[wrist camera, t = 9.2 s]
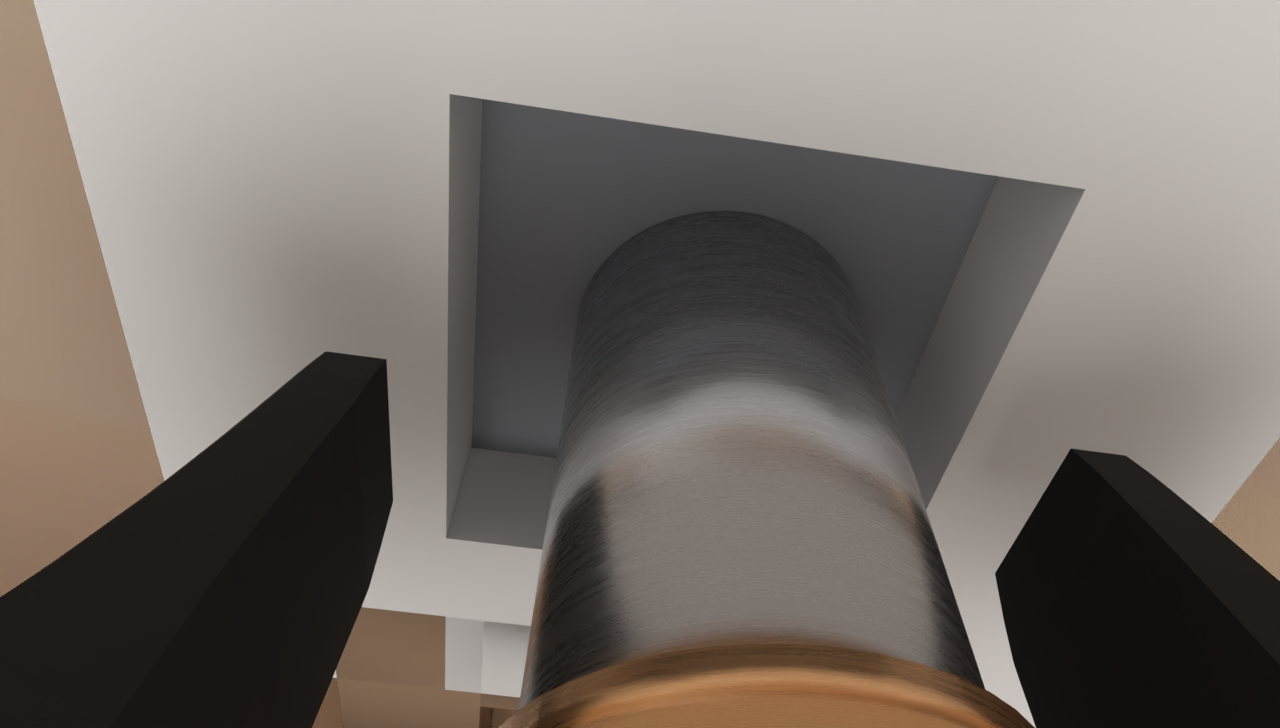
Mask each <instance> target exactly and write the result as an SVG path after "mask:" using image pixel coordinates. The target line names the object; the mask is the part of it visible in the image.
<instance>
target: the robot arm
mask: <svg viewBox="0 0 1280 728" xmlns="http://www.w3.org/2000/svg"><path fill="white" fill-rule="evenodd" d="M392 503H393V488H392V466H391V445H390V423H389V402H388V380H387V359H381V358H373V357H365V356H358V355H350V354H342V353H335V352H327V351H326V352H324V353H323V354H321V355H320V356H319V357H317V358H316V359H315V360H313V361H312V362H311V363H310V364H308V365H307V366H306V367H305V368H303V369H302V370H301V371H300V372H298V373H297V374H296V375H295V376H294V377H292V378H291V379H290V380H289V381H288V382H286V383H285V384H284V385H283V386H282V387H280V388H279V389H278V390H277V391H276V392H274V393H273V394H272V395H271V396H270V397H268V398H267V399H266V400H265V401H264V402H262V403H261V404H260V405H259V406H258V407H256V408H255V409H254V410H253V411H252V412H250V413H249V414H248V415H247V416H246V417H244V418H243V419H242V420H241V421H239V422H238V423H237V424H236V425H235V426H233V427H232V428H231V429H230V430H228V431H227V432H226V433H225V434H224V435H222V436H221V437H220V438H219V439H217V440H216V441H215V442H214V443H212V444H211V445H210V446H208V447H207V448H206V449H205V450H203V451H202V452H201V453H200V454H198V455H197V456H196V457H194V458H193V459H192V460H191V461H189V462H188V463H187V464H185V465H184V466H183V467H182V468H180V469H179V470H178V471H177V472H175V473H174V474H173V475H171V476H170V477H169V478H168V479H166V480H165V481H164V482H163V483H161V484H160V485H159V486H157V487H156V488H155V489H153V490H152V491H151V492H150V493H148V494H147V495H146V496H144V497H143V498H142V499H140V500H139V501H138V502H136V503H135V504H133V505H132V506H131V507H129V508H128V509H126V510H125V511H124V512H122V513H121V514H119V515H118V516H117V517H115V518H114V519H112V520H111V521H110V522H108V523H107V524H106V525H104V526H103V527H101V528H100V529H99V530H97V531H96V532H94V533H93V534H92V535H90V536H89V537H87V538H86V539H85V540H83V541H82V542H80V543H79V544H78V545H76V546H75V547H73V548H72V549H71V550H69V551H68V552H66V553H65V554H64V555H62V556H61V557H59V558H58V559H57V560H55V561H54V562H52V563H51V564H49V565H48V566H46V567H45V568H44V569H42V570H41V571H39V572H38V573H36V574H35V575H33V576H32V577H30V578H29V579H27V580H26V581H24V582H23V583H21V584H20V585H18V586H17V587H15V588H14V589H12V590H11V591H9V592H8V593H6V594H5V595H3V596H2V597H0V728H312V726H313V723H314V721H315V718H316V716H317V714H318V711H319V709H320V706H321V704H322V702H323V699H324V697H325V694H326V692H327V690H328V687H329V685H330V682H331V680H332V677H333V675H334V673H335V670H336V668H337V665H338V663H339V661H340V658H341V656H342V653H343V651H344V648H345V646H346V643H347V641H348V639H349V636H350V634H351V631H352V629H353V626H354V624H355V621H356V619H357V617H358V614H359V612H360V609H361V607H362V604H363V602H364V599H365V597H366V594H367V592H368V589H369V586H370V582H371V579H372V575H373V572H374V569H375V565H376V562H377V558H378V555H379V551H380V548H381V544H382V540H383V537H384V533H385V529H386V526H387V522H388V518H389V514H390V511H391V507H392ZM995 577H996V582H997V587H998V592H999V598H1000V603H1001V608H1002V614H1003V619H1004V624H1005V628H1006V632H1007V637H1008V641H1009V645H1010V650H1011V654H1012V658H1013V663H1014V666H1015V669H1016V672H1017V675H1018V678H1019V680H1020V683H1021V686H1022V689H1023V692H1024V695H1025V698H1026V701H1027V704H1028V706H1029V709H1030V712H1031V715H1032V718H1033V721H1034V723H1035V726H1036V728H1280V581H1279V580H1277V579H1276V578H1275V577H1274V576H1273V575H1272V574H1270V573H1269V572H1268V571H1267V570H1266V569H1264V568H1263V567H1262V566H1261V565H1260V564H1259V563H1257V562H1256V561H1255V560H1254V559H1253V558H1252V557H1250V556H1249V555H1248V554H1247V553H1246V552H1244V551H1243V550H1242V549H1241V548H1240V547H1239V546H1237V545H1236V544H1235V543H1234V542H1233V541H1232V540H1230V539H1229V538H1228V537H1227V536H1226V535H1225V534H1223V533H1222V532H1221V531H1220V530H1219V529H1217V528H1216V527H1215V526H1214V525H1213V524H1212V523H1210V522H1209V521H1208V520H1207V519H1206V518H1204V517H1203V516H1202V515H1201V514H1200V513H1198V512H1197V511H1196V510H1195V509H1194V508H1192V507H1191V506H1190V505H1189V504H1188V503H1186V502H1185V501H1184V500H1183V499H1182V498H1180V497H1179V496H1178V495H1177V494H1176V493H1174V492H1173V491H1172V490H1171V489H1169V488H1168V487H1167V486H1166V485H1164V484H1163V483H1162V482H1161V481H1159V480H1158V479H1157V478H1155V477H1154V476H1153V475H1152V474H1150V473H1149V472H1148V471H1146V470H1145V469H1144V468H1142V467H1141V466H1140V465H1138V464H1137V463H1135V462H1134V461H1133V460H1131V459H1130V458H1129V457H1127V456H1125V455H1118V454H1110V453H1102V452H1095V451H1087V450H1079V449H1070V451H1069V452H1068V454H1067V456H1066V457H1065V459H1064V460H1063V462H1062V464H1061V465H1060V467H1059V469H1058V470H1057V472H1056V474H1055V475H1054V477H1053V479H1052V480H1051V482H1050V484H1049V485H1048V487H1047V488H1046V490H1045V492H1044V493H1043V495H1042V497H1041V498H1040V500H1039V502H1038V503H1037V505H1036V507H1035V508H1034V510H1033V512H1032V513H1031V515H1030V516H1029V518H1028V520H1027V521H1026V523H1025V525H1024V526H1023V528H1022V530H1021V531H1020V533H1019V535H1018V536H1017V538H1016V540H1015V541H1014V543H1013V544H1012V546H1011V548H1010V549H1009V551H1008V553H1007V554H1006V556H1005V558H1004V559H1003V561H1002V563H1001V564H1000V566H999V568H998V569H997V571H996V572H995Z"/></svg>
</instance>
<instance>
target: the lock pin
mask: <svg viewBox="0 0 1280 728" xmlns="http://www.w3.org/2000/svg"><path fill="white" fill-rule="evenodd" d="M498 728H1035V727H1034V726H1033V725H1032V724H1031V723H1030V722H1029V721H1027V720H1026V719H1025V718H1024V717H1023V716H1022V715H1021V714H1020V713H1019V712H1018V711H1017V710H1016V709H1015V708H1013V707H1012V706H1010V705H1009V704H1007V703H1006V702H1004V701H1003V700H1001V699H1000V698H998V697H997V696H995V695H994V694H992V693H991V692H989V691H987V690H985V687H984V684H983V681H982V678H981V675H980V671H979V668H978V665H977V662H976V659H975V656H974V653H973V650H972V647H971V644H970V641H969V638H968V635H967V632H966V629H965V626H964V623H963V620H962V617H961V614H960V611H959V608H958V605H957V602H956V599H955V596H954V593H953V590H952V587H951V584H950V581H949V578H948V575H947V572H946V569H945V566H944V563H943V560H942V556H941V553H940V550H939V547H938V544H937V541H936V538H935V535H934V532H933V529H932V526H931V523H930V520H929V517H928V514H927V511H926V508H925V505H924V502H923V499H922V496H921V493H920V490H919V487H918V484H917V481H916V478H915V475H914V472H913V469H912V466H911V463H910V460H909V457H908V454H907V451H906V448H905V444H904V441H903V438H902V435H901V432H900V429H899V426H898V423H897V420H896V417H895V414H894V411H893V408H892V405H891V402H890V399H889V396H888V393H887V390H886V387H885V384H884V381H883V378H882V375H881V372H880V369H879V366H878V363H877V360H876V357H875V354H874V351H873V348H872V345H871V342H870V339H869V336H868V333H867V329H866V326H865V323H864V320H863V317H862V314H861V311H860V308H859V305H858V302H857V299H856V296H855V294H854V291H853V288H852V286H851V283H850V281H849V279H848V277H847V276H846V274H845V272H844V270H843V269H842V267H841V266H840V265H839V263H838V262H837V261H836V260H835V258H834V257H833V256H832V255H831V254H830V253H829V252H828V251H827V250H826V249H825V248H824V247H823V246H822V245H821V244H819V243H818V242H817V241H816V240H814V239H813V238H811V237H810V236H808V235H807V234H805V233H804V232H802V231H800V230H798V229H796V228H794V227H792V226H790V225H788V224H786V223H783V222H780V221H777V220H774V219H772V218H769V217H765V216H760V215H755V214H750V213H743V212H731V211H719V212H703V213H697V214H690V215H685V216H681V217H678V218H674V219H671V220H667V221H665V222H662V223H660V224H657V225H655V226H653V227H650V228H648V229H646V230H644V231H643V232H641V233H639V234H637V235H636V236H634V237H632V238H631V239H629V240H628V241H627V242H625V243H624V244H623V245H621V246H620V247H619V248H617V249H616V250H615V251H614V252H613V253H612V254H611V255H610V256H609V257H608V258H607V259H606V260H605V261H604V262H603V264H602V265H601V266H600V268H599V269H598V270H597V272H596V273H595V274H594V276H593V277H592V279H591V281H590V283H589V285H588V286H587V288H586V290H585V293H584V296H583V298H582V301H581V304H580V308H579V313H578V318H577V324H576V330H575V337H574V344H573V350H572V357H571V364H570V370H569V377H568V383H567V390H566V397H565V403H564V410H563V417H562V423H561V430H560V437H559V443H558V450H557V457H556V463H555V470H554V477H553V483H552V490H551V496H550V503H549V510H548V516H547V523H546V530H545V536H544V543H543V550H542V556H541V563H540V570H539V576H538V583H537V590H536V596H535V603H534V609H533V616H532V623H531V629H530V636H529V643H528V649H527V656H526V663H525V669H524V676H523V683H522V689H521V696H520V703H519V709H518V711H516V712H515V713H514V714H513V715H512V716H510V717H509V718H508V719H507V720H506V721H505V722H504V723H503V724H501V725H500V726H499V727H498Z"/></svg>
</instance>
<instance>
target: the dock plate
mask: <svg viewBox="0 0 1280 728" xmlns="http://www.w3.org/2000/svg"><path fill="white" fill-rule="evenodd" d="M33 1H34V4H35V8H36V12H37V15H38V19H39V23H40V26H41V30H42V34H43V37H44V41H45V45H46V48H47V52H48V56H49V59H50V63H51V67H52V70H53V74H54V78H55V81H56V85H57V89H58V92H59V96H60V100H61V103H62V107H63V111H64V114H65V118H66V122H67V125H68V129H69V133H70V136H71V140H72V144H73V147H74V151H75V155H76V158H77V162H78V166H79V170H80V173H81V177H82V181H83V184H84V188H85V192H86V195H87V199H88V203H89V206H90V210H91V214H92V217H93V221H94V225H95V228H96V232H97V236H98V239H99V243H100V247H101V250H102V254H103V258H104V261H105V265H106V269H107V272H108V276H109V280H110V283H111V287H112V291H113V294H114V298H115V302H116V305H117V309H118V313H119V316H120V320H121V324H122V327H123V331H124V335H125V338H126V342H127V346H128V349H129V353H130V357H131V360H132V364H133V368H134V371H135V375H136V379H137V382H138V386H139V390H140V393H141V397H142V401H143V404H144V408H145V412H146V415H147V419H148V423H149V426H150V430H151V434H152V437H153V441H154V445H155V448H156V452H157V456H158V459H159V463H160V467H161V470H162V474H163V478H164V481H165V480H166V479H168V478H169V477H170V476H171V475H173V474H174V473H175V472H177V471H178V470H179V469H180V468H182V467H183V466H184V465H185V464H187V463H188V462H189V461H191V460H192V459H193V458H194V457H196V456H197V455H198V454H200V453H201V452H202V451H203V450H205V449H206V448H207V447H208V446H210V445H211V444H212V443H214V442H215V441H216V440H217V439H219V438H220V437H221V436H222V435H224V434H225V433H226V432H227V431H228V430H230V429H231V428H232V427H233V426H235V425H236V424H237V423H238V422H239V421H241V420H242V419H243V418H244V417H246V416H247V415H248V414H249V413H250V412H252V411H253V410H254V409H255V408H256V407H258V406H259V405H260V404H261V403H262V402H264V401H265V400H266V399H267V398H268V397H270V396H271V395H272V394H273V393H274V392H276V391H277V390H278V389H279V388H280V387H282V386H283V385H284V384H285V383H286V382H288V381H289V380H290V379H291V378H292V377H294V376H295V375H296V374H297V373H298V372H300V371H301V370H302V369H303V368H305V367H306V366H307V365H308V364H310V363H311V362H312V361H313V360H315V359H316V358H317V357H319V356H320V355H321V354H323V353H324V352H326V351H327V352H335V353H342V354H350V355H358V356H365V357H373V358H381V359H387V380H388V402H389V423H390V445H391V466H392V488H393V503H392V507H391V511H390V514H389V518H388V522H387V526H386V529H385V533H384V537H383V540H382V544H381V548H380V551H379V555H378V558H377V562H376V565H375V569H374V572H373V575H372V579H371V582H370V586H369V589H368V592H367V594H366V597H365V599H364V602H363V604H362V607H365V608H374V609H383V610H392V611H401V612H410V613H419V614H428V615H436V616H445V617H447V618H446V633H445V690H454V691H463V692H473V693H482V694H491V695H501V696H510V697H519V698H520V696H521V689H522V683H523V676H524V669H525V663H526V656H527V649H528V643H529V638H528V637H529V636H530V634H529V633H530V629H531V628H530V627H529V626H531V623H532V616H533V609H534V603H535V596H536V590H537V583H538V576H539V570H540V563H541V556H542V550H543V543H544V536H545V530H546V523H547V516H548V510H549V503H550V496H551V490H552V483H553V477H554V470H555V463H556V457H557V450H558V443H559V437H560V430H561V423H562V417H563V410H564V403H565V397H566V390H567V383H568V377H569V370H570V364H571V357H572V350H573V344H574V337H575V330H576V324H577V318H578V313H579V308H580V304H581V301H582V298H583V296H584V293H585V290H586V288H587V286H588V285H589V283H590V281H591V279H592V277H593V276H594V274H595V273H596V272H597V270H598V269H599V268H600V266H601V265H602V264H603V262H604V261H605V260H606V259H607V258H608V257H609V256H610V255H611V254H612V253H613V252H614V251H615V250H616V249H617V248H619V247H620V246H621V245H623V244H624V243H625V242H627V241H628V240H629V239H631V238H632V237H634V236H636V235H637V234H639V233H641V232H643V231H644V230H646V229H648V228H650V227H653V226H655V225H657V224H660V223H662V222H665V221H667V220H671V219H674V218H678V217H681V216H685V215H690V214H697V213H703V212H719V211H731V212H743V213H750V214H755V215H760V216H765V217H769V218H772V219H774V220H777V221H780V222H783V223H786V224H788V225H790V226H792V227H794V228H796V229H798V230H800V231H802V232H804V233H805V234H807V235H808V236H810V237H811V238H813V239H814V240H816V241H817V242H818V243H819V244H821V245H822V246H823V247H824V248H825V249H826V250H827V251H828V252H829V253H830V254H831V255H832V256H833V257H834V258H835V260H836V261H837V262H838V263H839V265H840V266H841V267H842V269H843V270H844V272H845V274H846V276H847V277H848V279H849V281H850V283H851V286H852V288H853V291H854V294H855V296H856V299H857V302H858V305H859V308H860V311H861V314H862V317H863V320H864V323H865V326H866V329H867V333H868V336H869V339H870V342H871V345H872V348H873V351H874V354H875V357H876V360H877V363H878V366H879V369H880V372H881V375H882V378H883V381H884V384H885V387H886V390H887V393H888V396H889V399H890V402H891V405H892V408H893V411H894V414H895V417H896V420H897V423H898V426H899V429H900V432H901V435H902V438H903V441H904V444H905V448H906V451H907V454H908V457H909V460H910V463H911V466H912V469H913V472H914V475H915V478H916V481H917V484H918V487H919V490H920V493H921V496H922V499H923V502H924V505H925V508H926V511H927V514H928V517H929V520H930V523H931V526H932V529H933V532H934V535H935V538H936V541H937V544H938V547H939V550H940V553H941V556H942V560H943V563H944V566H945V569H946V572H947V575H948V578H949V581H950V584H951V587H952V590H953V593H954V596H955V599H956V602H957V605H958V608H959V611H960V614H961V617H962V620H963V623H964V626H965V629H966V632H967V635H968V638H969V641H970V644H971V647H972V650H973V653H974V656H975V659H976V662H977V665H978V668H979V671H980V675H981V678H982V681H983V684H984V687H985V690H987V691H989V692H991V693H992V694H994V695H995V696H997V697H998V698H1000V699H1001V700H1003V701H1004V702H1006V703H1007V704H1009V705H1010V706H1012V707H1013V708H1015V709H1016V710H1017V711H1018V712H1019V713H1020V714H1021V715H1022V716H1023V717H1024V718H1025V719H1026V720H1027V721H1029V722H1030V723H1031V724H1032V725H1033V726H1034V727H1035V728H1036V726H1035V723H1034V721H1033V718H1032V715H1031V712H1030V709H1029V706H1028V704H1027V701H1026V698H1025V695H1024V692H1023V689H1022V686H1021V683H1020V680H1019V678H1018V675H1017V672H1016V669H1015V666H1014V663H1013V658H1012V654H1011V650H1010V645H1009V641H1008V637H1007V632H1006V628H1005V624H1004V619H1003V614H1002V608H1001V603H1000V598H999V592H998V587H997V582H996V577H995V572H996V571H997V569H998V568H999V566H1000V564H1001V563H1002V561H1003V559H1004V558H1005V556H1006V554H1007V553H1008V551H1009V549H1010V548H1011V546H1012V544H1013V543H1014V541H1015V540H1016V538H1017V536H1018V535H1019V533H1020V531H1021V530H1022V528H1023V526H1024V525H1025V523H1026V521H1027V520H1028V518H1029V516H1030V515H1031V513H1032V512H1033V510H1034V508H1035V507H1036V505H1037V503H1038V502H1039V500H1040V498H1041V497H1042V495H1043V493H1044V492H1045V490H1046V488H1047V487H1048V485H1049V484H1050V482H1051V480H1052V479H1053V477H1054V475H1055V474H1056V472H1057V470H1058V469H1059V467H1060V465H1061V464H1062V462H1063V460H1064V459H1065V457H1066V456H1067V454H1068V452H1069V451H1070V449H1079V450H1087V451H1095V452H1102V453H1110V454H1118V455H1125V456H1127V457H1129V458H1130V459H1131V460H1133V461H1134V462H1135V463H1137V464H1138V465H1140V466H1141V467H1142V468H1144V469H1145V470H1146V471H1148V472H1149V473H1150V474H1152V475H1153V476H1154V477H1155V478H1157V479H1158V480H1159V481H1161V482H1162V483H1163V484H1164V485H1166V486H1167V487H1168V488H1169V489H1171V490H1172V491H1173V492H1174V493H1176V494H1177V495H1178V496H1179V497H1180V498H1182V499H1183V500H1184V501H1185V502H1186V503H1188V504H1189V505H1190V506H1191V507H1192V508H1194V509H1195V510H1196V511H1197V512H1198V513H1200V514H1201V515H1202V516H1203V517H1204V518H1206V519H1207V520H1208V521H1209V522H1210V523H1212V522H1213V520H1214V519H1215V518H1216V517H1217V515H1218V514H1219V513H1220V512H1221V510H1222V509H1223V508H1224V507H1225V505H1226V504H1227V503H1228V502H1229V500H1230V499H1231V498H1232V497H1233V495H1234V494H1235V493H1236V492H1237V490H1238V489H1239V488H1240V487H1241V485H1242V484H1243V483H1244V482H1245V480H1246V479H1247V478H1248V477H1249V475H1250V474H1251V473H1252V472H1253V470H1254V469H1255V468H1256V467H1257V465H1258V464H1259V463H1260V462H1261V460H1262V459H1263V458H1264V457H1265V455H1266V454H1267V453H1268V452H1269V450H1270V449H1271V448H1272V447H1273V445H1274V444H1275V443H1276V442H1277V440H1278V439H1279V438H1280V0H33ZM366 615H367V614H366ZM384 617H385V616H384ZM455 618H456V619H455ZM487 621H488V622H487ZM489 621H490V622H491V623H493V624H492V626H490V625H491V623H490V622H489ZM450 622H451V623H450ZM484 622H485V623H484ZM494 622H496V623H494ZM497 622H498V623H497ZM448 623H449V624H448ZM489 623H490V624H489ZM499 623H500V626H501V625H502V624H503V623H504V624H503V625H504V626H503V625H502V626H501V627H503V628H504V629H505V630H504V629H503V628H501V627H499V626H498V624H499ZM506 623H508V624H506ZM484 624H485V625H484ZM487 624H488V626H489V627H491V629H492V630H493V631H491V629H490V628H489V627H488V626H487ZM494 624H495V625H496V627H495V626H493V625H494ZM505 624H506V625H505ZM510 624H511V625H510ZM513 624H514V625H513ZM515 624H517V625H515ZM512 625H513V626H512ZM520 625H521V626H520ZM523 625H525V626H528V627H526V628H528V629H529V631H528V629H526V628H525V627H524V626H523ZM484 626H485V627H488V628H489V629H490V630H489V629H488V628H485V627H484ZM505 626H507V629H506V628H505ZM508 626H510V627H511V626H512V627H511V628H510V627H508ZM514 626H516V627H514ZM517 626H518V627H517ZM497 627H498V628H497ZM513 627H514V628H515V629H514V630H513ZM522 627H523V628H522ZM484 628H485V629H484ZM495 628H496V629H495ZM500 628H501V629H500ZM516 628H517V630H516ZM519 628H522V629H523V630H527V631H523V630H521V629H520V630H521V631H520V632H519V630H518V629H519ZM482 629H483V630H482ZM487 629H488V630H489V631H488V630H487ZM494 629H495V630H494ZM498 629H499V630H498ZM501 630H502V632H501ZM503 630H504V631H503ZM506 630H507V631H506ZM509 630H511V632H510V633H511V636H510V633H509ZM486 631H487V632H486ZM494 631H495V632H494ZM515 631H516V632H517V631H518V632H519V633H518V632H517V633H518V635H516V634H517V633H515ZM522 631H523V632H526V633H524V634H525V635H524V634H523V633H522ZM447 632H448V633H447ZM463 632H464V633H463ZM492 632H493V634H492ZM507 632H508V633H507ZM481 633H482V634H481ZM487 633H488V634H489V635H488V636H487ZM494 633H495V634H494ZM512 633H513V634H514V635H513V634H512ZM521 633H522V634H521ZM451 634H452V635H451ZM497 634H498V635H497ZM503 634H504V635H505V637H504V635H503ZM506 634H507V635H506ZM493 635H494V636H493ZM512 635H513V636H512ZM515 635H516V637H514V636H515ZM455 636H456V637H455ZM490 636H491V637H490ZM506 636H507V637H508V638H506ZM517 636H518V637H517ZM524 636H526V637H524ZM485 637H486V638H485ZM492 637H493V638H492ZM496 637H497V638H496ZM498 637H499V638H498ZM511 637H512V638H511ZM520 637H521V638H520ZM505 638H506V639H505ZM517 638H518V639H517ZM524 638H526V639H525V640H526V641H525V640H524ZM489 639H490V641H489ZM492 639H494V640H492ZM498 639H499V640H498ZM521 639H522V640H521ZM351 640H352V639H351ZM478 640H479V641H478ZM505 640H506V641H505ZM515 640H516V641H515ZM527 640H528V641H527ZM477 641H478V642H477ZM481 641H482V642H481ZM493 641H496V642H497V643H496V642H493ZM504 641H505V642H504ZM510 641H511V642H510ZM523 641H524V642H523ZM484 642H485V643H484ZM490 642H491V643H490ZM499 642H500V643H499ZM514 642H515V643H514ZM350 643H351V642H350ZM495 643H496V644H495ZM501 643H502V644H501ZM361 644H362V643H361ZM492 644H493V645H492ZM508 644H510V645H508ZM519 644H520V645H519ZM522 644H523V646H522ZM491 645H492V646H491ZM505 645H506V646H505ZM513 645H514V646H515V647H514V646H513ZM524 645H525V646H524ZM496 646H497V647H496ZM504 646H505V647H504ZM507 646H508V647H507ZM520 646H521V648H520ZM500 647H501V648H502V649H501V648H500ZM509 647H510V648H509ZM526 647H527V648H526ZM483 648H484V649H483ZM514 648H515V649H514ZM345 649H346V648H345ZM487 649H489V650H490V651H489V650H488V651H487ZM498 649H499V650H498ZM519 649H520V650H519ZM395 650H396V649H395ZM511 650H512V651H511ZM504 652H505V653H504ZM510 652H511V653H510ZM518 653H519V654H518ZM364 656H365V655H364ZM495 657H496V658H495ZM519 657H520V658H519ZM459 659H460V660H459ZM472 659H473V660H472ZM520 661H521V662H520ZM500 662H501V663H500ZM514 662H515V663H514ZM519 662H520V663H519ZM492 666H493V667H492ZM511 666H512V667H511ZM332 678H337V676H336V670H335V673H334V675H333V677H332ZM389 678H390V677H389ZM464 678H465V679H464ZM371 679H372V678H371Z"/></svg>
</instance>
